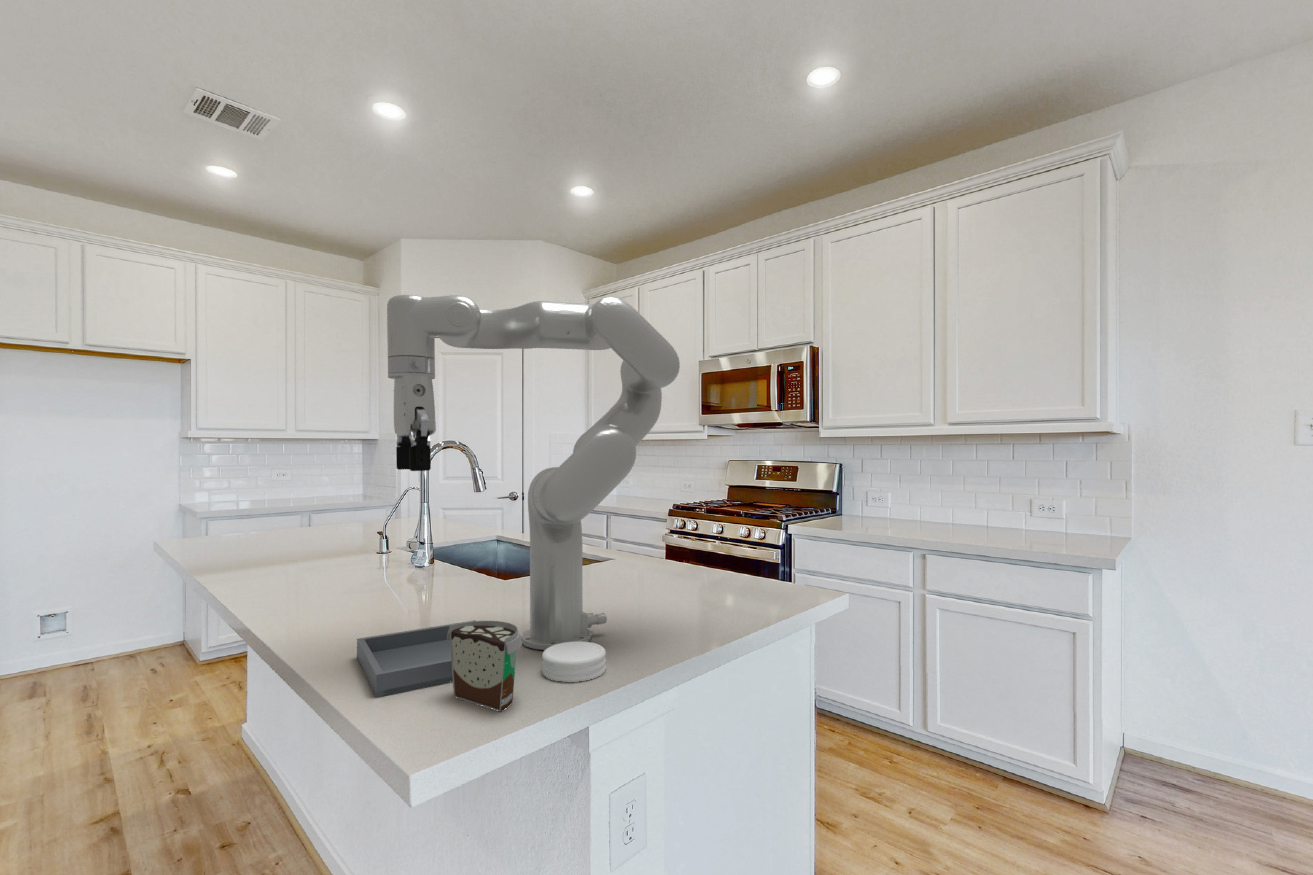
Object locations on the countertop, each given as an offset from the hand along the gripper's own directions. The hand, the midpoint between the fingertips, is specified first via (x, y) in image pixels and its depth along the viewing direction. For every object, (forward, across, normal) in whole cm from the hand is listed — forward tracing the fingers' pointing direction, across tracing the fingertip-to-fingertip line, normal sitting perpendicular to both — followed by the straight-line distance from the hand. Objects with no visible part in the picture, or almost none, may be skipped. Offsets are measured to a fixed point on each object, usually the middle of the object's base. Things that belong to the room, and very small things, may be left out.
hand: (413, 469), depth 106 cm
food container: (+32, -24, -5) cm, 41 cm away
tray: (+32, -5, -1) cm, 32 cm away
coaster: (+32, -22, -19) cm, 43 cm away
